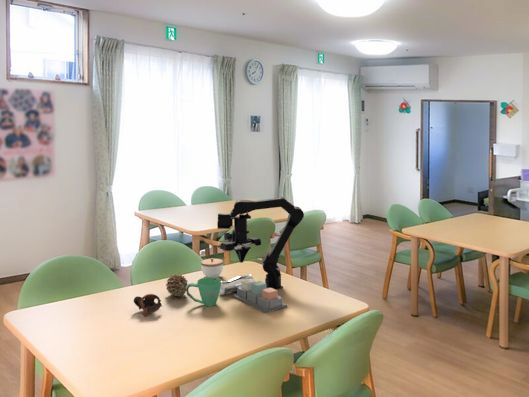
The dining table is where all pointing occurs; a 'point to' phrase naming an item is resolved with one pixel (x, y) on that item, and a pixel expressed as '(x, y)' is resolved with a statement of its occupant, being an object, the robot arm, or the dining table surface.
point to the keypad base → (259, 301)
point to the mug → (206, 290)
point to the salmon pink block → (269, 293)
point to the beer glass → (233, 284)
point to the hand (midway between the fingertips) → (241, 262)
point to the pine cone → (176, 285)
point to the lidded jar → (212, 267)
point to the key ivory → (247, 284)
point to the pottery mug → (148, 303)
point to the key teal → (257, 287)
